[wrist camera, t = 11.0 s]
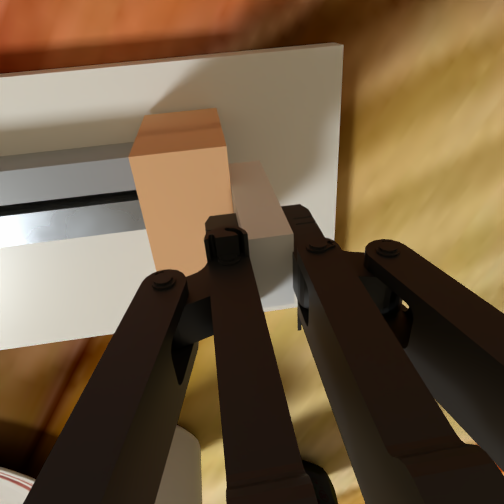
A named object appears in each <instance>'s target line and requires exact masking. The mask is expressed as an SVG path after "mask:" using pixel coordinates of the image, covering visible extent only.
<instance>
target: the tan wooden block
mask: <svg viewBox="0 0 504 504" xmlns="http://www.w3.org/2000/svg"><path fill="white" fill-rule="evenodd" d="M128 158H129V162H130V166H131V170H132V174H133V178H134V182H135V187H136V191H137V195H138V199H139V203H140V207H141V211H142V215H143V219H144V223H145V227H146V231H147V235H148V239H149V243H150V247H151V252H152V256H153V260H154V264H155V268H156V272H157V271H160V270H166V269H172V270H178V271H180V272H182V273H183V274H184V275H185V276H186V277H187V276H190V275H192V274H194V273H197V272H198V271H200V270H202V269H203V268H204V267H205V266H206V264H207V257H206V251H205V244H204V237H205V235H206V231H205V222H206V221H207V219H208V218H209V216H215V215H223V214H231V213H234V211H233V202H232V193H231V183H230V174H229V165H228V155H227V146H226V142H225V138H224V135H223V131H222V127H221V123H220V120H219V116H218V112H217V108H209V109H199V110H190V111H180V112H171V113H161V114H152V115H144V118H143V120H142V123H141V126H140V128H139V131H138V133H137V136H136V138H135V141H134V144H133V146H132V149H131V151H130V154H129V156H128Z"/></svg>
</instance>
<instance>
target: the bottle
mask: <svg viewBox="0 0 504 504" xmlns="http://www.w3.org/2000/svg"><path fill="white" fill-rule="evenodd" d="M302 464H303V467H304V470H305V473H306V474H308V475H309V477H310V479H311V482H312V484H313V488H314V491H315V494H316V498H317V502H318V504H338V502H337V497H336V493H335V490H334V487H333V485H332V482H331V480H330V478H329V477H328V475H327V473H326V472H325V471H324V469H323V468H321V467H320V466H318V465H316V464H313V463H310V462H307V461H303V460H302Z"/></svg>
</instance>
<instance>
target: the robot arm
mask: <svg viewBox="0 0 504 504" xmlns="http://www.w3.org/2000/svg"><path fill="white" fill-rule="evenodd" d="M228 165H229V174H230V183H231V193H232V202H233V211H234V213H231V214H223V215H215V216H209V218H208V219H207V221H206V222H205V231H206V235H205V237H204V244H205V251H206V257H207V264H206V266H205V267H204V268H203V269H202V270H200V271H198V272H197V273H194V274H192V275H190V276H187V277H186V276H185V275H184V274H183V273H182V272H180V271H178V270H172V269H166V270H160V271H157V272H154V273H152V274H150V275H149V276H147V277H146V278H145V279H144V280H143V281H142V283H141V285H140V286H139V288H138V290H137V292H136V294H135V296H134V298H133V299H132V301H131V303H130V305H129V307H128V309H127V311H126V313H125V314H124V316H123V318H122V320H121V322H120V324H119V326H118V327H117V329H116V331H115V333H114V335H113V337H112V339H111V340H110V342H109V344H108V346H107V348H106V350H105V352H104V353H103V355H102V357H101V359H100V361H99V363H98V365H97V367H96V368H95V370H94V372H93V374H92V376H91V378H90V380H89V381H88V383H87V385H86V387H85V389H84V391H83V393H82V394H81V396H80V398H79V400H78V402H77V404H76V406H75V408H74V409H73V411H72V413H71V415H70V417H69V419H68V421H67V422H66V424H65V426H64V428H63V430H62V432H61V434H60V435H59V437H58V439H57V441H56V443H55V445H54V447H53V448H52V450H51V452H50V454H49V456H48V458H47V460H46V462H45V463H44V465H43V467H42V469H41V471H40V473H39V475H38V476H37V478H36V480H35V482H34V484H33V486H32V488H31V489H30V491H29V493H28V495H27V497H26V499H25V501H24V502H23V504H155V501H156V497H157V493H158V490H159V486H160V483H161V479H162V475H163V472H164V468H165V465H166V461H167V458H168V454H169V450H170V447H171V443H172V440H173V436H174V433H175V429H176V425H177V422H178V418H179V415H180V411H181V408H182V404H183V400H184V397H185V393H186V390H187V386H188V383H189V379H190V375H191V372H192V368H193V365H194V361H195V358H196V354H197V350H198V341H200V340H202V339H205V338H207V337H210V336H212V335H214V344H215V355H216V367H217V378H218V390H219V401H220V412H221V424H222V435H223V446H224V458H225V469H226V481H227V489H226V502H227V504H318V502H317V498H316V494H315V491H314V488H313V484H312V482H311V479H310V477H309V475H308V474H306V473H305V470H304V467H303V464H302V460H301V456H300V452H299V448H298V444H297V440H296V437H295V433H294V429H293V425H292V421H291V417H290V413H289V409H288V405H287V401H286V397H285V393H284V389H283V386H282V382H281V378H280V374H279V370H278V366H277V362H276V358H275V354H274V350H273V346H272V342H271V339H270V335H269V331H268V327H267V323H266V319H265V315H264V311H263V308H266V307H273V306H280V305H287V304H294V292H295V295H296V297H297V302H298V330H301V325H302V326H303V329H304V332H305V335H306V338H307V341H308V343H309V346H310V349H311V352H312V355H313V357H314V360H315V363H316V366H317V369H318V371H319V374H320V377H321V380H322V383H323V386H324V388H325V391H326V394H327V397H328V400H329V402H330V405H331V408H332V411H333V414H334V416H335V419H336V422H337V425H338V428H339V430H340V433H341V436H342V439H343V442H344V445H345V447H346V450H347V453H348V456H349V459H350V461H351V464H352V467H353V470H354V473H355V475H356V478H357V481H358V484H359V487H360V490H361V492H362V495H363V498H364V501H365V504H504V476H503V474H502V473H501V471H500V470H499V468H498V467H497V465H498V466H499V467H500V468H501V469H502V470H503V471H504V314H503V313H502V312H501V311H499V310H498V309H496V308H495V307H493V306H492V305H491V304H489V303H488V302H486V301H485V300H483V299H482V298H480V297H479V296H478V295H476V294H475V293H473V292H472V291H470V290H469V289H468V288H466V287H465V286H463V285H462V284H460V283H459V282H458V281H456V280H455V279H453V278H452V277H450V276H449V275H447V274H446V273H445V272H443V271H442V270H440V269H439V268H437V267H436V266H435V265H433V264H432V263H430V262H429V261H427V260H426V259H424V258H423V257H422V256H420V255H419V254H417V253H416V252H414V251H413V250H412V249H410V248H409V247H407V246H406V245H404V244H402V243H400V242H397V241H393V240H389V239H387V240H386V239H381V240H375V241H372V242H370V243H368V245H367V246H366V247H365V253H360V252H348V251H343V250H341V248H340V246H339V245H338V244H337V243H336V242H335V241H334V240H332V239H329V238H326V237H325V236H324V235H323V233H322V231H321V230H320V228H319V226H318V225H317V223H316V221H315V220H314V218H313V217H312V214H311V213H310V211H309V209H307V208H306V207H304V206H302V205H301V204H296V205H288V206H280V203H279V201H278V199H277V197H276V195H275V193H274V190H273V188H272V186H271V184H270V182H269V180H268V177H267V175H266V173H265V171H264V169H263V167H262V165H261V162H260V160H258V161H249V162H240V163H231V164H228ZM402 300H404V301H405V302H406V303H407V304H408V305H409V309H408V308H406V307H405V306H404V305H403V304H402ZM433 397H434V398H435V399H436V401H437V402H438V403H439V404H440V405H441V406H442V407H443V408H444V409H445V410H446V411H447V412H448V413H449V414H450V415H451V416H452V417H453V419H454V420H455V421H456V422H457V423H458V424H459V425H460V426H461V427H462V428H463V429H464V430H465V431H466V432H467V433H468V434H469V435H470V437H471V438H472V439H473V440H474V441H475V442H476V443H477V444H478V445H479V446H480V447H481V448H480V447H479V446H478V445H472V444H465V443H464V442H463V441H461V440H460V438H459V437H458V436H457V435H456V433H455V431H454V430H453V428H452V427H451V425H450V423H449V422H448V420H447V419H446V417H445V415H444V414H443V412H442V410H441V409H440V407H439V406H438V404H437V402H436V401H435V399H434V398H433ZM495 463H496V464H497V465H496V464H495Z"/></svg>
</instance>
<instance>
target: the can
mask: <svg viewBox="0 0 504 504" xmlns="http://www.w3.org/2000/svg"><path fill="white" fill-rule="evenodd" d="M155 504H202V481H201V447H200V444H199V441H198V440H197V439H196V438H195V437H194V436H193V434H191V433H189V432H187V431H186V430H185V429H184V428H182V427H180V426H178V425H176V429H175V433H174V436H173V440H172V443H171V447H170V450H169V454H168V458H167V461H166V465H165V468H164V472H163V475H162V479H161V483H160V486H159V490H158V493H157V497H156V501H155Z"/></svg>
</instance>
